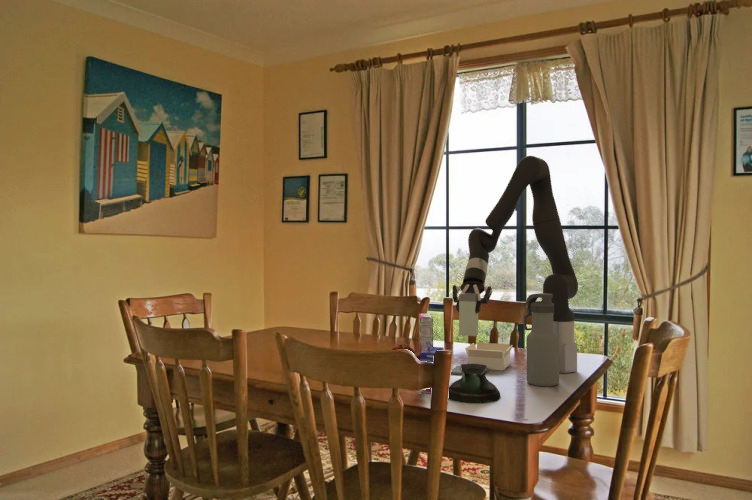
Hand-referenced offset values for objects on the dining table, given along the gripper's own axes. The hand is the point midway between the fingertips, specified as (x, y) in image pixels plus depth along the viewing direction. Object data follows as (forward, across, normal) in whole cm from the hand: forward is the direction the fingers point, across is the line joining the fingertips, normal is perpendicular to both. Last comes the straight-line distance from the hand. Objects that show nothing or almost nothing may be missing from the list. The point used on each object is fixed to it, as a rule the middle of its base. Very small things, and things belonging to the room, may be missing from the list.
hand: (467, 311), depth 205 cm
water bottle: (+19, +25, +10) cm, 33 cm away
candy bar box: (+1, -21, +29) cm, 36 cm away
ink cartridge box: (+33, -4, -3) cm, 34 cm away
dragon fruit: (+13, -25, +18) cm, 33 cm away
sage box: (+5, 0, +7) cm, 8 cm away
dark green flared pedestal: (+36, +8, -6) cm, 37 cm away
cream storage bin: (+5, +4, +25) cm, 26 cm away
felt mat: (+14, 0, +16) cm, 21 cm away
